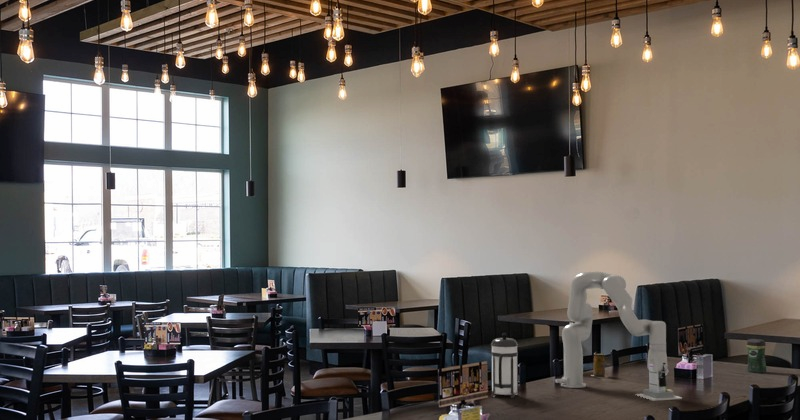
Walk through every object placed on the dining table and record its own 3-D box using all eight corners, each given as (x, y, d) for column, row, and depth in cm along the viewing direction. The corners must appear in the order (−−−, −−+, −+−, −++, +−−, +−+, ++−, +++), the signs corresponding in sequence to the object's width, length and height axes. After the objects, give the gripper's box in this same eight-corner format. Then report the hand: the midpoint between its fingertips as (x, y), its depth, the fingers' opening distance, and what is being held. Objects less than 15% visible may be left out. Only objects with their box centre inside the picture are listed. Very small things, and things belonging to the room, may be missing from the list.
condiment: (602, 375, 453) (602, 353, 453) (609, 377, 444) (609, 355, 445) (590, 375, 451) (589, 353, 452) (597, 378, 443) (596, 355, 443)
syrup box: (658, 396, 384) (657, 365, 385) (648, 394, 390) (648, 363, 390) (667, 395, 387) (666, 364, 387) (657, 393, 392) (657, 362, 393)
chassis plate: (652, 400, 379) (652, 394, 379) (635, 395, 392) (635, 388, 392) (682, 398, 384) (682, 392, 384) (664, 393, 397) (663, 387, 397)
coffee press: (481, 394, 394) (481, 332, 395) (510, 392, 401) (509, 330, 402) (499, 401, 378) (499, 335, 380) (529, 398, 385) (528, 334, 386)
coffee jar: (768, 372, 462) (768, 339, 462) (761, 373, 457) (761, 340, 457) (752, 370, 469) (751, 337, 470) (745, 371, 464) (744, 338, 465)
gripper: (640, 345, 396) (640, 382, 396) (661, 350, 380) (662, 388, 379) (653, 344, 398) (653, 381, 398) (675, 349, 382) (675, 388, 381)
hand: (657, 384), depth 388 cm, fingers closed on syrup box, 6 cm apart
